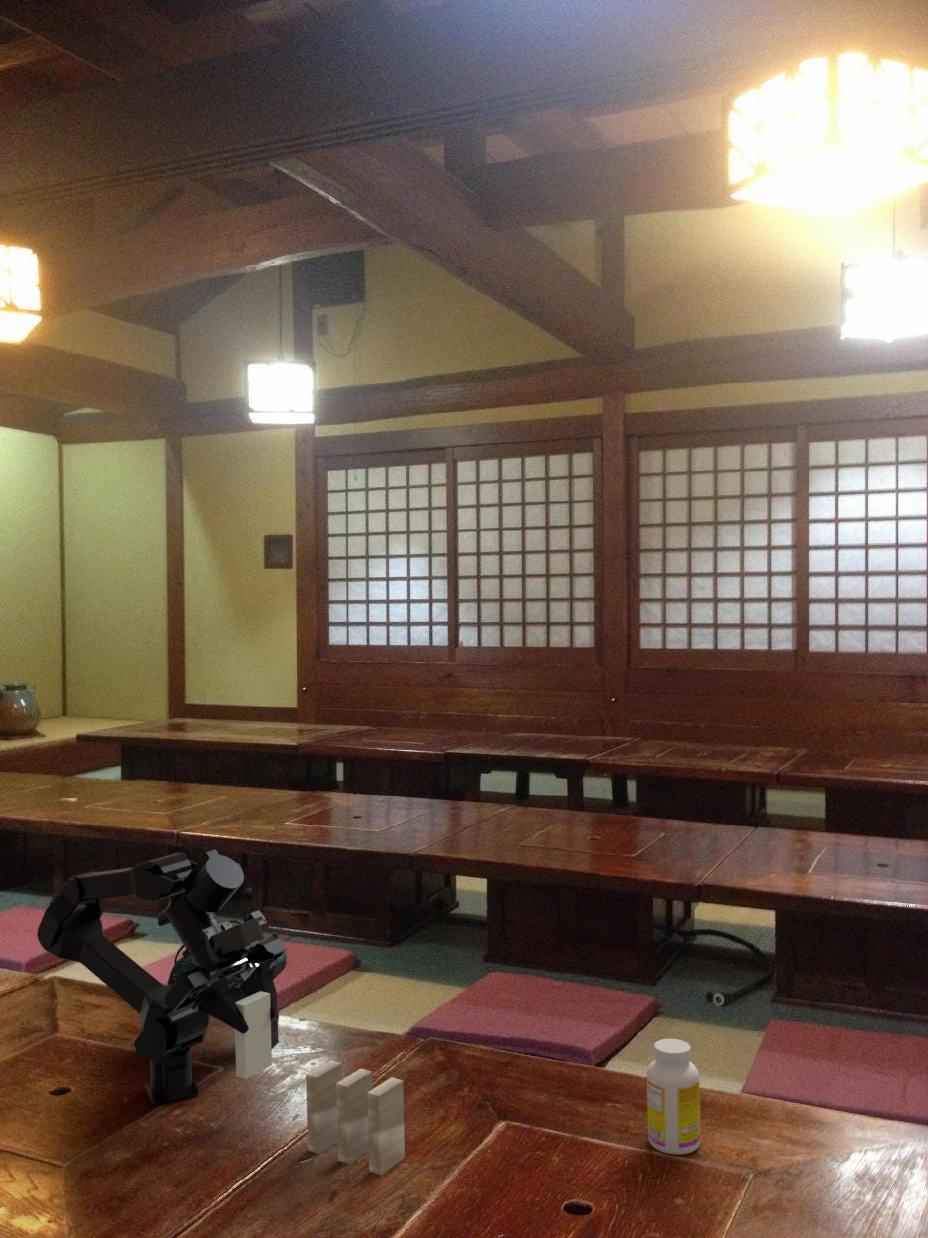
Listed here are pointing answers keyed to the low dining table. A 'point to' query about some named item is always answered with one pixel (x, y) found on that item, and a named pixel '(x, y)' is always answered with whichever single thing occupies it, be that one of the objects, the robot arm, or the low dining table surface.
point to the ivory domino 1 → (322, 1106)
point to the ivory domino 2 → (353, 1115)
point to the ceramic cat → (238, 980)
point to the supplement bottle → (673, 1099)
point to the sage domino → (254, 1036)
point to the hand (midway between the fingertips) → (260, 1025)
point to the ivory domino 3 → (386, 1126)
